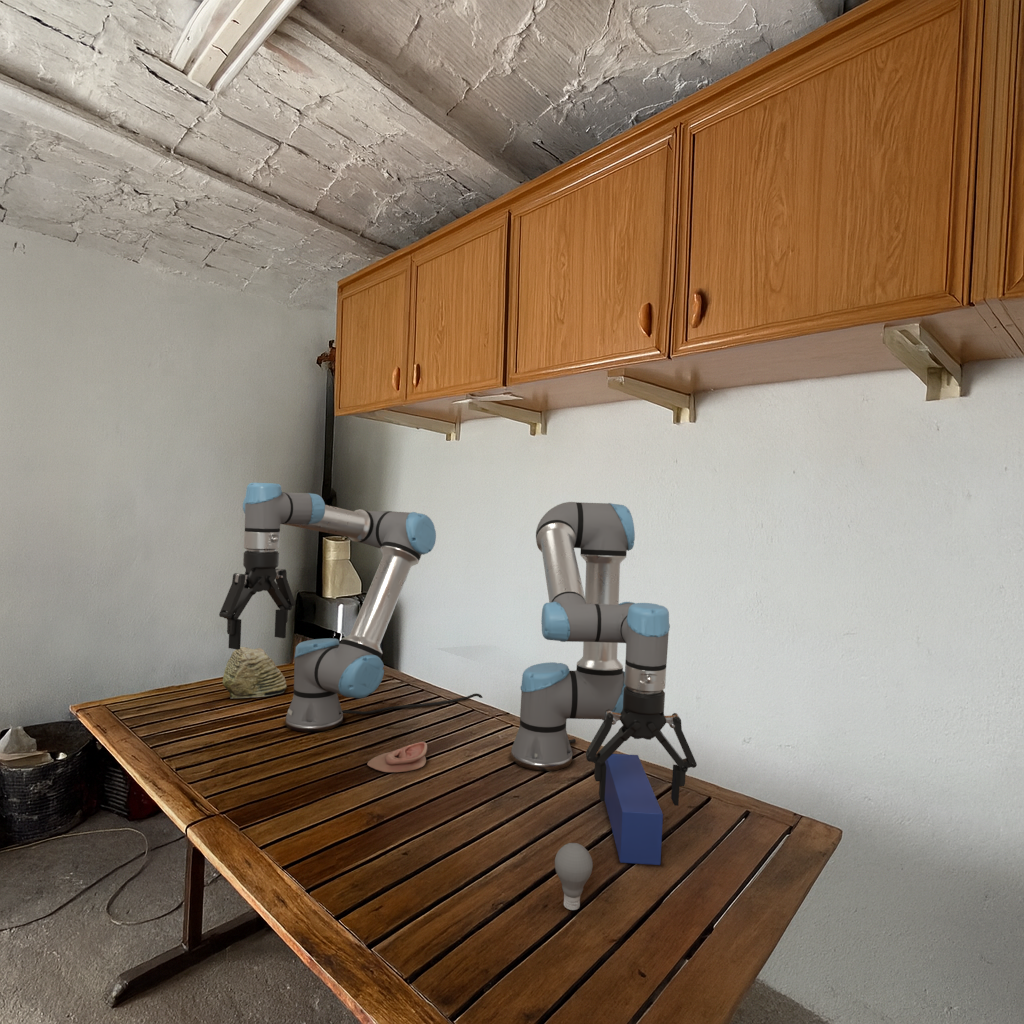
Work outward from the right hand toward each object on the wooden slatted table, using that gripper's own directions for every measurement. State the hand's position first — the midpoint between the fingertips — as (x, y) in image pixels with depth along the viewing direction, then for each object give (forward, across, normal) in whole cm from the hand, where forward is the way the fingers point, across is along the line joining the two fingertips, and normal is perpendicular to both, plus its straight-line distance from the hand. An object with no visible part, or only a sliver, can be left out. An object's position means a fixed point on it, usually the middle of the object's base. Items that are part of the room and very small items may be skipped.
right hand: (638, 800), depth 118 cm
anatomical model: (+10, -52, +31) cm, 61 cm away
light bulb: (+9, -13, -19) cm, 25 cm away
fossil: (+12, -106, +76) cm, 131 cm away
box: (+10, 0, +8) cm, 13 cm away
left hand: (-19, -84, +25) cm, 89 cm away
